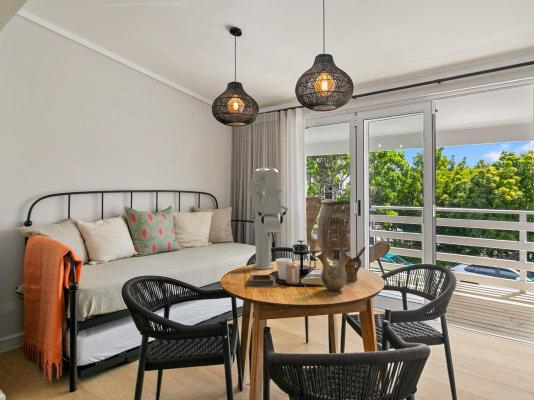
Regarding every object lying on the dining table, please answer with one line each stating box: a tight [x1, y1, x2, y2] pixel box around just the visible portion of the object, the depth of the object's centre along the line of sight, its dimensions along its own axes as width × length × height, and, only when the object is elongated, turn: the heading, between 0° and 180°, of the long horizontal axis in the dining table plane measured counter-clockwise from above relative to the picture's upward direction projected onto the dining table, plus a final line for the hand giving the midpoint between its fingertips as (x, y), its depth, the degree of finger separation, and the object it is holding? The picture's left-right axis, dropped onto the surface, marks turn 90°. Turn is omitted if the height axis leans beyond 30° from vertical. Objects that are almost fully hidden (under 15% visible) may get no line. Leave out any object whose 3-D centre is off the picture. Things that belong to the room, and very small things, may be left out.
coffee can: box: [332, 246, 351, 264], centre depth 195 cm, size 10×10×14 cm
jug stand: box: [246, 274, 277, 289], centre depth 170 cm, size 20×14×4 cm
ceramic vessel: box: [316, 238, 352, 292], centre depth 160 cm, size 16×9×25 cm, turn 82°
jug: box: [285, 262, 300, 285], centre depth 169 cm, size 10×7×10 cm
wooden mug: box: [345, 246, 366, 283], centre depth 178 cm, size 9×14×18 cm, turn 81°
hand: (272, 223), depth 181 cm, fingers open, 9 cm apart
